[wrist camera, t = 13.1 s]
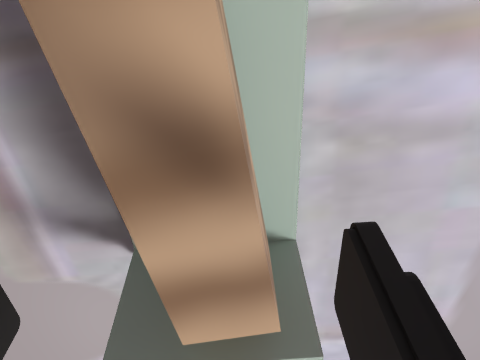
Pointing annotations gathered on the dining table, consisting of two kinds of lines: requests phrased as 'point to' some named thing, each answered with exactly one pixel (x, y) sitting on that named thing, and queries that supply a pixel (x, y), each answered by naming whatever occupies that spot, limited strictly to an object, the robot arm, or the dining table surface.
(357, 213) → the dining table surface
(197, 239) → the wooden block
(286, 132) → the shelf rack
